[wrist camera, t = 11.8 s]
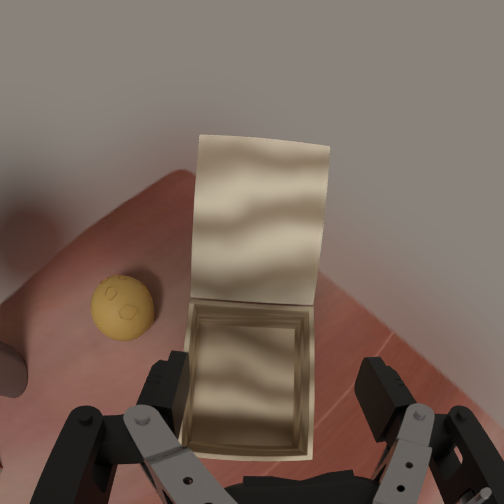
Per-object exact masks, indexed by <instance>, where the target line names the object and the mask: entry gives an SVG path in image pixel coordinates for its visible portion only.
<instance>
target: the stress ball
mask: <svg viewBox="0 0 504 504" xmlns="http://www.w3.org/2000/svg"><path fill="white" fill-rule="evenodd" d="M91 314H92V318H93V320H94V322H95V324H96V326H97V327H98V329H99V330H100V331H101V332H102V333H103V334H105V335H106V336H107V337H109V338H111V339H114V340H118V341H129V340H133V339H135V338H138V337H139V336H141V335H142V334H143V333H144V332H145V331H146V330H147V329H149V328H150V327H151V325H152V324H153V321H154V317H155V313H154V305H153V300H152V297H151V295H150V292H149V290H148V288H147V287H146V286H145V284H143V283H142V282H139V281H138V280H136V279H134V278H132V277H129V276H123V275H113V276H111V277H108V278H107V279H104V280H103V281H102V282H101V283H100V284H99V286H98V287H97V288H96V290H95V292H94V294H93V296H92V300H91Z"/></svg>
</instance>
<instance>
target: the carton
mask: <svg viewBox="0 0 504 504" xmlns="http://www.w3.org/2000/svg"><path fill="white" fill-rule="evenodd" d="M184 352H188V353H189V369H190V388H189V393H188V398H187V402H186V407H185V411H184V416H183V420H182V425H181V430H180V434H179V439H178V441H179V442H180V444H181V445H182V446H183V447H185V446H187V447H189V448H190V449H191V450H192V452H193V453H194V454H195V455H196V457H201V458H211V459H223V460H241V461H295V460H312V452H313V428H314V307H303V306H282V305H264V304H248V303H233V302H220V301H208V300H196V299H190V302H189V310H188V318H187V326H186V335H185V344H184Z"/></svg>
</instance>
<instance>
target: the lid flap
mask: <svg viewBox="0 0 504 504" xmlns="http://www.w3.org/2000/svg"><path fill="white" fill-rule="evenodd" d="M329 156H330V146H323V145H315V144H308V143H301V142H293V141H284V140H274V139H263V138H252V137H238V136H220V135H200V138H199V149H198V161H197V172H196V185H195V200H194V217H193V236H192V261H191V297H195V298H206V299H219V300H232V301H246V302H262V303H279V304H300V305H313V302H314V296H315V289H316V282H317V275H318V267H319V258H320V250H321V243H322V234H323V225H324V215H325V206H326V194H327V182H328V170H329Z"/></svg>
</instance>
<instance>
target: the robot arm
mask: <svg viewBox="0 0 504 504" xmlns="http://www.w3.org/2000/svg"><path fill="white" fill-rule="evenodd" d="M26 384H27V369H26V365H25V363H24V360H23V359H22V357H21V356H20V355H19V354H18V353H16V352H15V351H14V350H13V348H12V347H11V346H9V345H7V344H5V343H2V342H0V396H5V397H10V398H16V397H18V396H20V395H21V394H22V393H23V392H24V390H25V387H26ZM189 388H190V369H189V353H188V352H181V351H171V353H170V356H169V359H168V361H164V360H159V361H158V362H156V363H155V364H154V365H153V366H152V367H151V370H150V372H149V376H148V377H147V379H146V382H145V384H144V387H143V389H142V391H141V394H140V396H139V399H138V401H137V404H136V405H135V406H132V407H130V408H129V409H127V411H126V412H125V413H124V414H122V415H110V416H102V414H101V412H100V411H99V410H98V409H97V408H95V407H92V406H80V407H77V408H75V409H74V410H72V411H71V413H70V414H69V416H68V418H67V420H66V422H65V424H64V426H63V428H62V430H61V432H60V434H59V437H58V439H57V441H56V443H55V445H54V447H53V449H52V452H51V454H50V456H49V458H48V460H47V463H46V465H45V467H44V469H43V472H42V474H41V477H40V479H39V481H38V484H37V486H36V489H35V491H34V494H33V496H32V499H31V501H30V504H108V501H109V497H110V493H111V489H112V485H113V481H114V477H115V473H116V469H117V465H118V464H137V463H139V464H140V466H141V468H142V469H143V471H144V473H145V475H146V476H147V478H148V479H149V481H150V483H151V484H152V486H153V487H154V489H155V491H156V492H157V494H158V495H159V497H160V499H161V501H162V502H163V504H416V503H417V500H418V498H419V495H420V491H421V488H422V485H423V482H424V479H425V475H426V472H427V468H428V465H429V467H430V470H431V472H432V474H433V477H434V479H435V481H436V484H437V486H438V489H439V491H440V494H441V496H442V499H443V501H444V504H504V461H503V459H502V458H501V456H500V454H499V453H498V451H497V449H496V448H495V446H494V445H493V443H492V441H491V440H490V438H489V437H488V435H487V434H486V432H485V430H484V429H483V427H482V426H481V424H480V423H479V421H478V420H477V418H476V417H475V415H474V414H473V413H472V411H471V410H470V409H468V408H467V407H464V406H454V407H452V408H451V410H450V411H449V413H448V414H434V412H433V410H432V409H431V408H430V407H428V406H426V405H424V404H419V403H417V402H416V401H415V399H414V398H413V396H412V395H411V393H410V391H409V390H408V388H407V387H406V386H405V384H404V382H403V381H402V380H401V378H400V376H399V375H398V373H397V372H396V371H395V370H394V369H392V368H391V367H390V366H386V365H385V363H384V362H383V360H382V359H381V357H365V358H364V359H363V361H362V364H361V367H360V370H359V373H358V376H357V378H356V381H355V394H356V397H357V399H358V401H359V403H360V406H361V408H362V410H363V413H364V415H365V417H366V419H367V422H368V424H369V426H370V429H371V431H372V433H373V436H374V438H375V441H376V443H378V442H383V441H386V443H387V445H386V447H385V448H384V451H383V453H382V455H381V457H380V460H379V462H378V464H377V466H376V468H375V470H374V473H373V475H372V477H371V478H370V479H368V478H364V477H358V476H354V473H353V470H345V471H338V472H330V473H325V474H322V475H319V476H316V477H313V478H310V479H306V480H302V481H298V480H291V479H284V478H278V477H273V476H244V477H243V483H240V484H235V485H231V486H228V487H226V488H223V487H222V486H221V485H220V484H219V483H218V482H217V480H216V479H215V478H214V477H213V476H212V475H211V474H210V472H209V471H208V470H207V469H206V468H205V466H204V465H203V464H202V463H201V462H200V460H199V459H198V458H197V457H196V455H195V454H194V453H193V452H192V450H191V449H190V448H189V447H187V446H185V447H183V446H182V445H181V444H180V442H179V441H178V439H179V434H180V430H181V425H182V420H183V416H184V411H185V407H186V402H187V398H188V393H189ZM456 446H457V447H458V449H459V451H460V453H461V454H462V457H463V461H462V464H461V463H460V461H459V459H458V457H457V455H456V453H455V451H454V448H455V447H456Z"/></svg>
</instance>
